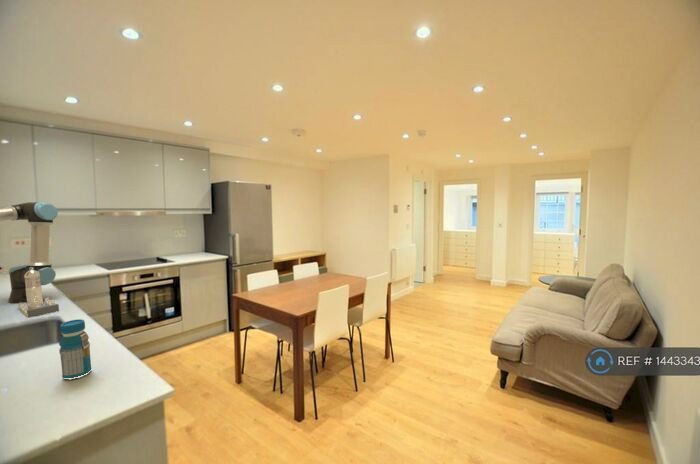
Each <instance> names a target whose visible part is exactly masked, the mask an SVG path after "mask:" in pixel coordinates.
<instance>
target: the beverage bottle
mask: <svg viewBox="0 0 700 464" xmlns="http://www.w3.org/2000/svg"><path fill="white" fill-rule="evenodd" d="M59 328H60V330H59V331H60V334H61V335H62V336H61V337H60V340H59V342H58V345H59V346H60V347H59V349H58V351H59V352H58V353H59V355H60V357H59V358H60V364H61V373H62V374H61V377H62V379H63V378H74V377H78V376H81V375H84V374H86V373H88V372H89V371H90V370H91V369H92V364H91V363H92V362H91V359H92V358H91V349H90V346H91V344H90V341H89V339H90V338H89V337H90V336H89V335H88V333H87V332H86V331H85V329H86V322H85V320H84V319H80V318H79V319H73V320H68V321H65V322H63V323H61V324H60V326H59ZM91 371H92V370H91Z"/></svg>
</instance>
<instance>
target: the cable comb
mask: <svg viewBox="0 0 700 464" xmlns="http://www.w3.org/2000/svg"><path fill="white" fill-rule="evenodd" d="M45 304H46V305H45ZM54 304H56V302H55V301H53V300H52V299H50V298H49V297H46V298H44V300H43V305H45V306H49V305H54ZM17 307H18V308H17V309H18V310H19V311H20V312H21V313H22V314H23V315H25V316H26V317H27V318H28V314H27V310H29V309H28V306H26V304H24V302H21V303H18V306H17Z"/></svg>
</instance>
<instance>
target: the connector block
mask: <svg viewBox="0 0 700 464" xmlns="http://www.w3.org/2000/svg"><path fill="white" fill-rule="evenodd" d="M59 306H60V305H59V304H58V303H55V304H54V305H49V306H47V305H43V307H39V308H34V309H28V310H27V314H28V317H27V318H33V317H37V316H42V315H48V314H52V313H57V312H59V311H60V307H59ZM56 311H57V312H56ZM51 312H52V313H51ZM47 313H48V314H47Z"/></svg>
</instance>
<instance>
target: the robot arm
mask: <svg viewBox="0 0 700 464" xmlns="http://www.w3.org/2000/svg"><path fill="white" fill-rule="evenodd" d="M58 213H59V212H58V209H57V207H56V206H55V205H54V204H52V203H50V202H44V201H36V202H35V201H34V202H33V201H32V202H22V203H19V204H12V205H7V206H6V207H2V208H0V222H2V221H8V220H9V221H22V220H23V221H24V220H25V221H27V222H28V224H29V225H31V228H30V230H31V231H30V252H29V253H30V255H29V256H30V257H29V258H30V259H29V263H28V264H26V265H25V264H24V265H19V266H13V267H10V268H9V269H7V268H5V267H4V266H1V265H0V273H1V274H2V275H6V274H9V280H10V281H9V282H10V287H11V291H10V294H9V297H8V303H9V304H17V303H18V304H19V303H27V297H26V285H25V278H24V275H25V273H26V272H28V271H29V270H30V269H29V268H30V267H34V269H33V270H36V271H38V272H39V273H40V281H41V286H47V285H50V284H51V283H52V282H53V281H54V280H55V279H56V275H57V274H56V270H54V268H52V266H53V265H52V263H51V262H49V258H50V257H49V256H50V253H49V252H50V249H49V248H50V230H51V229H50V228H51V227H50V226H51V225H52V224H54V220H55V219H56V218H57V217H58Z"/></svg>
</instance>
